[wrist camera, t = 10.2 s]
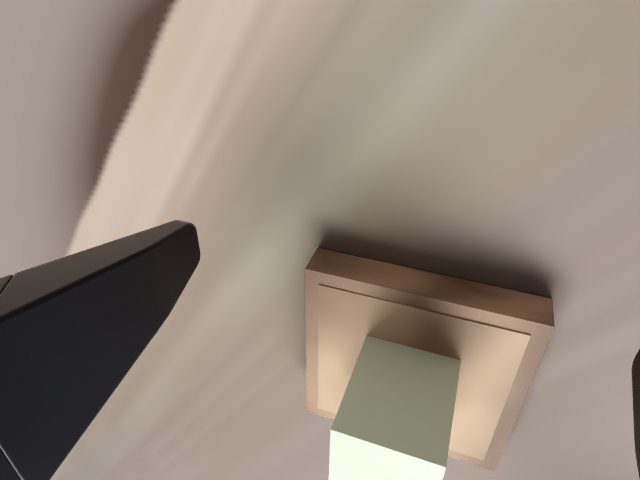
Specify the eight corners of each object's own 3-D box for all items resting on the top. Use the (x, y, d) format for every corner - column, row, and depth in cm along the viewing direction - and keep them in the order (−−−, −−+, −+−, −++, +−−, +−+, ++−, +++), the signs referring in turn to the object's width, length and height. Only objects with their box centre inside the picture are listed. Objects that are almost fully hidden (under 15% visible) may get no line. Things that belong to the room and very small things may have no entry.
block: (461, 360, 24) (446, 467, 19) (445, 419, 27) (428, 525, 22) (366, 335, 25) (330, 429, 20) (360, 394, 28) (328, 488, 23)
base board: (552, 298, 22) (554, 327, 21) (496, 442, 29) (494, 472, 28) (318, 247, 26) (304, 269, 24) (316, 387, 33) (305, 411, 31)
